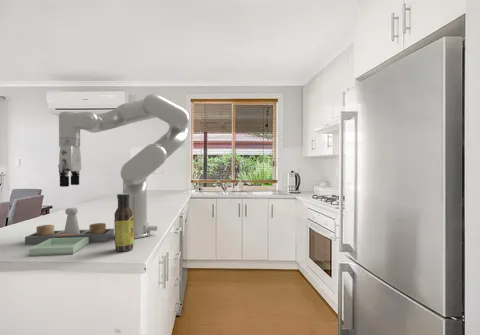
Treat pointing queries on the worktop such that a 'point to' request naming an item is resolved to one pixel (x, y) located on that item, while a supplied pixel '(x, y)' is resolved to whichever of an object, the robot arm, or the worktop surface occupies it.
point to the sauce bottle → (123, 224)
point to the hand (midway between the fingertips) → (69, 185)
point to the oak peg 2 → (98, 228)
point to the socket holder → (70, 236)
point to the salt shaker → (71, 222)
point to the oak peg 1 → (45, 230)
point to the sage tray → (59, 246)
